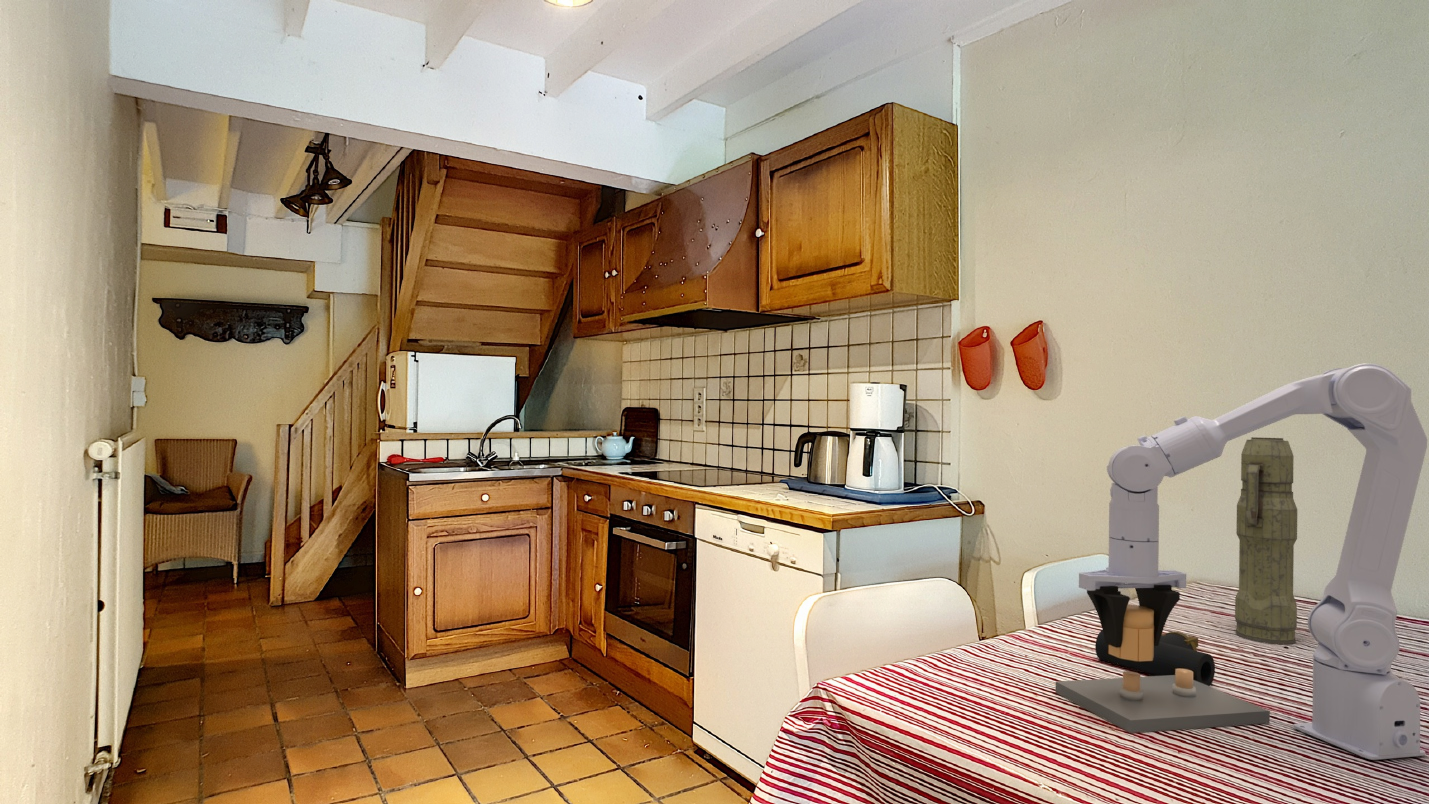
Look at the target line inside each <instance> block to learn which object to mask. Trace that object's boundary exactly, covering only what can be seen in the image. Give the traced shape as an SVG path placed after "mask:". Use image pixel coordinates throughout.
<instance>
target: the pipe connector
mask: <svg viewBox="0 0 1429 804" xmlns="http://www.w3.org/2000/svg"><path fill="white" fill-rule="evenodd" d="M1094 645H1095V648H1094V651H1095V654H1096V657H1097V659H1099V660H1100V661H1104V662H1107V663H1110V664H1114V665H1118V666H1120V667H1124V668H1127V669H1131V670H1134V671H1138V672H1141V673H1145V674H1149V675H1150V676H1167V675H1175V671H1176V669H1179V668H1180V669H1187V670H1191V671H1193V680H1195V681H1197V682H1200V683H1202V684H1205V685H1207V686H1210V687H1211V686H1212V684H1213V682H1214V678H1215V673H1216V665H1215V659H1214V658H1213V656H1212V655H1211V654H1209V653H1206V652H1202V651H1198V648H1199V637H1195V636H1192V635H1191V636H1190V635H1187V634H1185V633H1184V632H1181V631H1180V632H1179V631H1170V632H1165V633H1162V635H1161V638H1160V641H1159V645H1158V646H1154V657H1153V661H1133V660H1127V659H1121V658H1118V657H1116V656H1113V655H1111V654H1109V645H1108V644H1106V642H1105V638H1104V633H1103V629H1101V630H1100V631H1099V633H1098V635H1097V637H1096V639H1095V644H1094Z"/></svg>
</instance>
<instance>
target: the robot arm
mask: <svg viewBox="0 0 1429 804" xmlns="http://www.w3.org/2000/svg"><path fill="white" fill-rule="evenodd" d="M1320 414H1322V415H1323V416H1324V417H1326V418H1328V419H1330V420H1332V421H1334V422H1335V423H1337V424H1339V425H1341V426H1342V427H1344V428H1346V429H1347V431H1349V432H1350V434H1351V435H1352V436H1353V437H1354V438H1355V439H1356V440H1357V441H1358V442H1359V443H1360V444H1361V445H1362V446H1363V447H1364V448H1365V454H1364V455H1365V456H1364V458H1363V464H1362V467H1361V470H1360V476H1359V480H1358V483H1357V487H1356V492H1355V496H1354V500H1353V504H1352V508H1351V512H1350V516H1349V521H1348V523H1347V527H1346V528H1347V529H1346V532H1345V537H1344V542H1343V545H1342V548H1341V552H1340V558H1339V561H1338V565H1337V569H1336V572H1335V575H1334V577H1333V578H1332V579H1331V580H1330V581H1329V582H1328V583H1327V585H1326V586H1325V587H1324V592H1323V593H1322V594H1323V595H1322V596H1321V597H1322V598H1321V599H1320V600H1319V602H1318V603H1316V605H1314V607H1312V609H1311V610H1310V611H1309V613H1308V615H1307V616H1308V617H1307V628H1308V631H1309V633H1310V635H1311V636H1312V637H1313V639H1314V641H1316V642H1317V646H1316V649H1315V650H1314V651H1313V652H1312V713H1311V714H1312V718H1311V721H1312V722H1302V723H1294V724H1293V725H1292V727H1293V729H1295V730H1298V731H1301V732H1302V733H1304V734H1307V735H1310V736H1312V737H1314V738H1317V739H1320V740H1322V741H1324V742H1326V743H1329V744H1331V745H1333V746H1336V747H1338V748H1340V749H1343V750H1346V751H1348V752H1349V753H1353V754H1356V755H1357V756H1360V757H1362V758H1365V759H1368V760H1370V761H1371V760H1372V761H1374V760H1375V761H1376V760H1387V759H1389V760H1390V759H1397V758H1398V759H1399V758H1401V759H1402V758H1410V757H1411V758H1412V757H1420V756H1421V757H1422V756H1426V751H1425V750H1423V749H1421V699H1420V695H1419V693H1418V691H1417V688H1415V686H1414V685H1413V684H1411V683H1410V682H1408V681H1407V680H1405V679H1401V678H1399V677H1398V676H1397V675H1396V674H1394V673H1393V672H1392V670H1391V669H1392V663H1394V661H1395V660H1396V659H1397V657H1398V655H1399V653H1400V649H1401V648H1400V647H1401V646H1400V639H1399V637H1398V633H1397V631H1396V620H1397V615H1398V611H1397V610H1398V609H1397V606H1396V604H1395V601H1394V597H1393V593H1392V589H1393V584H1394V580H1395V576H1396V572H1397V567H1398V565H1399V564H1398V563H1399V559H1400V555H1401V552H1402V547H1403V543H1404V540H1405V536H1406V531H1407V528H1408V525H1409V520H1410V516H1411V512H1412V508H1413V506H1414V505H1413V504H1414V500H1415V496H1416V493H1417V488H1418V484H1419V480H1420V476H1421V473H1422V469H1423V464H1424V460H1425V456H1426V452H1427V449H1428V438H1427V435H1426V433H1425V430H1424V428H1423V425H1422V423H1421V420H1420V418H1419V416H1418V414H1417V411H1416V409H1415V407H1414V405H1413V403H1412V388H1411V387H1410V385H1408V384H1406V382H1404V381H1403V380H1402V379H1401V378H1400V377H1399V376H1397V374H1396V373H1394V372H1393V371H1392V370H1390V369H1389V368H1387V367H1385V366H1382V365H1380V364H1376V363H1359V364H1355V365H1352V366H1350V367H1345V368H1342V367H1337V368H1333V369H1329V370H1326V371H1324V372H1322V373H1321V374H1317V375H1314V376H1309V377H1306V378H1303V379H1299V380H1296V381H1292V382H1289V383H1286V384H1285V385H1282V386H1280V387H1278V388H1275V389H1273V390H1272V391H1269V392H1267V393H1266V394H1263V395H1261V396H1259V397H1257V398H1255V399H1253V400H1251V401H1249V402H1247V403H1244V404H1243V405H1240V406H1238V407H1237V408H1234V409H1232V410H1230V411H1228V412H1226V413H1224V414H1221V415H1220V416H1217V417H1216V418H1213V419H1209V418H1205V417H1203V416H1199V415H1194V416H1192V417H1190V418H1187V416H1184V415H1183V416H1180V417H1178V418H1175V419H1174V420H1173V423H1174V425H1172V426H1169V427H1167V428H1165V429H1163V430H1161V431H1159V432H1156V433H1154V434H1152V435H1150V436H1148V437H1147V435H1146V434H1144V435H1141V436H1138V437H1137V441H1138V443H1139V444H1138V445H1137V444H1136V445H1135V444H1134V445H1128V446H1124V447H1121V448H1118V449H1117V450H1116V451H1115V452H1114V453H1112V456H1111V457H1110V458H1109V461H1108V465H1107V466H1106V471H1107V475H1108V477H1109V478H1110V480H1111V481H1112V482H1111V486H1110V490H1109V491H1110V492H1109V495H1110V497H1111V498H1110V500H1109V502H1108V503H1109V505H1108V508H1109V509H1108V567H1105V569H1101V570H1095V571H1087V572H1085V571H1084V572H1078V588H1080V589H1082V590H1086V594H1087V596H1088V597H1089V599H1090V601H1091V603H1092V604H1093V607H1094V609H1095V611H1096V614H1097V615H1098V619H1099V621H1100V625H1101V628H1102V629H1101V630H1103V633H1104V638H1105V642H1106V644H1108V645H1111V646H1113V647H1116V648H1119V647H1121V645H1122V640H1123V623H1124V616H1125V612H1126V608H1127V605H1128V604H1130V603H1129V602H1130V600H1131V597H1130V596H1128V595H1125V594H1122V593H1121V591H1120V590H1119V589H1135V593H1136V596H1137V600H1138V606H1143V607H1147V608H1150V609H1152V610H1153V611H1154V646H1158V645H1159V641H1160V638H1161V635H1162V634H1163V631H1164V628H1165V625H1166V623H1167V620H1168V619H1169V617H1170V614H1171V612H1172V611H1173V609H1174V608H1175V606H1176V605H1177V604H1178V602H1179V601H1180V598H1181V594H1180V592H1179V591H1177V590H1173V588H1178V589H1187V573H1185V572H1182V571H1178V570H1159V556H1160V555H1159V554H1160V553H1159V549H1160V547H1159V541H1160V540H1159V537H1160V535H1159V534H1160V533H1159V531H1160V527H1159V526H1160V505H1159V503H1158V500H1159V499H1158V494H1159V493H1158V492H1159V491H1158V488H1159V487H1158V486H1160V485H1161V483H1162V481H1163V480H1164V477H1168V478H1170V479H1171V478H1174V477H1175V476H1177V475H1178V476H1179V475H1180V474H1183V473H1185V472H1187V471H1189V470H1192V469H1194V468H1196V467H1199V466H1201V465H1203V464H1205V463H1208V462H1210V461H1213V460H1215V459H1217V458H1220V457H1221V456H1222V454H1223V451H1224V448H1225V446H1226V444H1227V443H1228V442H1229V441H1232V440H1234V439H1236V438H1240V437H1242V436H1244V435H1247V434H1249V433H1252V432H1254V431H1257V430H1260V429H1262V428H1264V427H1265V428H1266V427H1267V426H1269V425H1272V424H1274V423H1277V422H1279V421H1282V420H1284V419H1287V418H1290V417H1292V416H1295V415H1320Z"/></svg>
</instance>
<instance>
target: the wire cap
mask: <svg viewBox="0 0 1429 804" xmlns="http://www.w3.org/2000/svg"><path fill="white" fill-rule="evenodd" d="M1109 654H1111V655H1113V656H1116V657H1118V658H1121V659H1127V660H1133V661H1153V657H1154V611H1153V610H1152V609H1150V608H1147V607H1143V606H1139V605H1136V604H1131V603H1128V605H1127V608H1126V612H1125V616H1124V623H1123V640H1122V645H1121V647H1119V648H1116V647H1113V646H1111V645H1109Z"/></svg>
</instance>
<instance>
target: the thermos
mask: <svg viewBox="0 0 1429 804" xmlns="http://www.w3.org/2000/svg"><path fill="white" fill-rule="evenodd" d="M1250 438H1251V439H1246V441H1245V444H1244V445H1243V448H1242V450H1241V459H1240V460H1241V462H1240V463H1241V465H1240V480H1241V481H1242V483H1241V484H1242V485H1241V487H1242V488H1240V496H1239V498H1238V501H1237V503H1236V530H1235V531H1236V533H1235V534H1236V536H1237V538H1238V539H1239V545H1238V546H1239V547H1238V549H1239V550H1238V551H1239V552H1238V553H1239V554H1238V556H1239V557H1238V559H1239V560H1238V563H1239V564H1238V566H1239V567H1238V571H1239V572H1238V591H1237V593H1236V595H1235V598H1234V599H1235V601H1234V606H1235V607H1234V619H1235V622H1236V629H1235V635H1237V636H1238V637H1239V638H1242V639H1245V640H1249V641H1254V642H1257V643H1263V644H1268V645H1269V644H1270V645H1271V644H1272V645H1287V646H1288V645H1294V644H1295V643H1296V640H1297V639H1296V630H1297V628H1298V626H1297V625H1298V624H1297V623H1298V608H1297V601H1296V598H1295V597H1294V562H1295V561H1294V558H1295V557H1294V556H1295V555H1294V553H1295V552H1294V550H1295V549H1294V547H1295V543H1296V541H1297V539H1298V507H1297V506H1296V503H1295V500H1294V491H1293V484H1294V453H1293V449H1292V447H1291V445H1290V442H1289V440H1284V438H1283V437H1250Z"/></svg>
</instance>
